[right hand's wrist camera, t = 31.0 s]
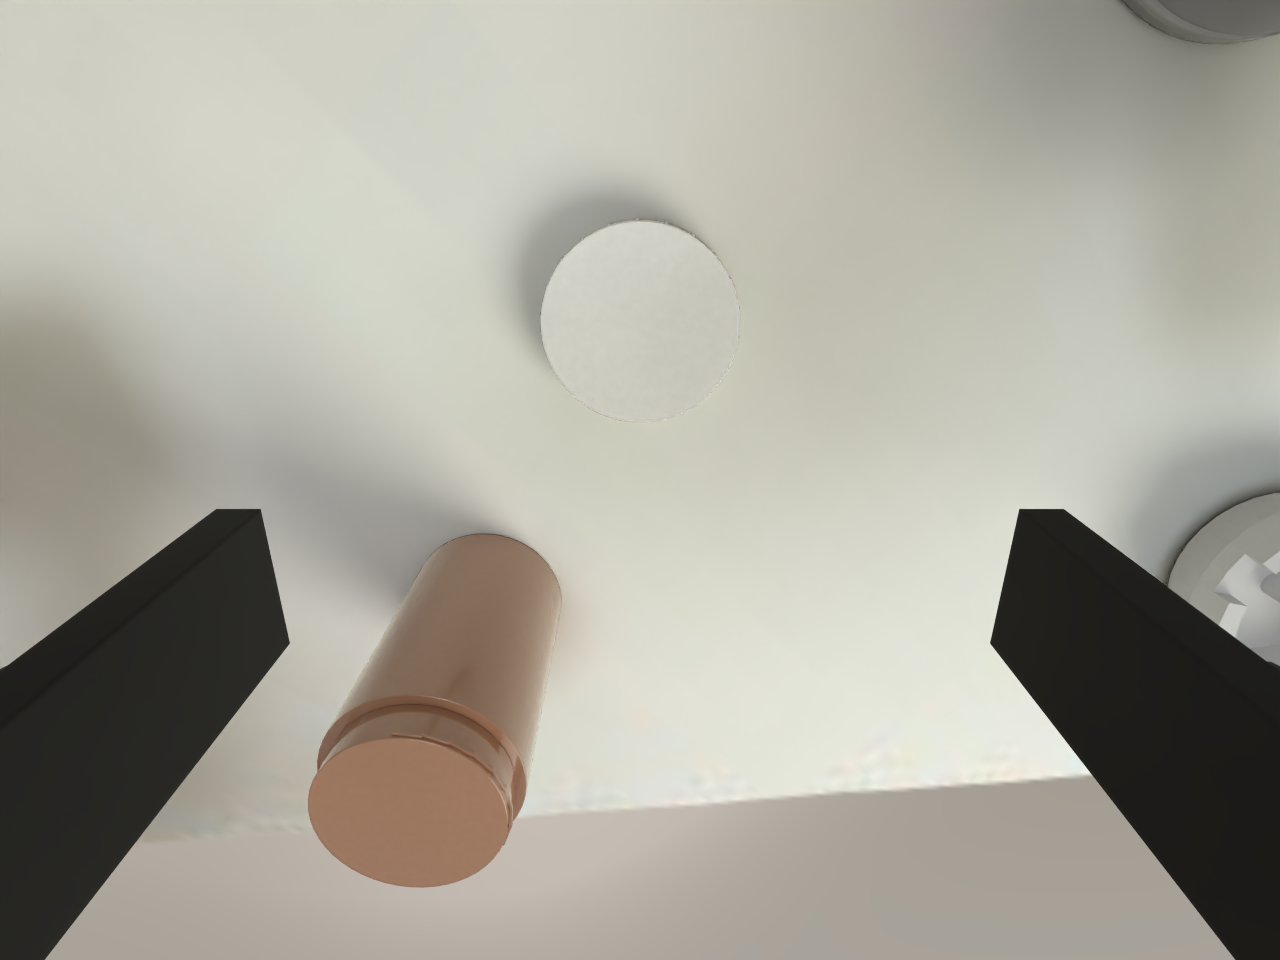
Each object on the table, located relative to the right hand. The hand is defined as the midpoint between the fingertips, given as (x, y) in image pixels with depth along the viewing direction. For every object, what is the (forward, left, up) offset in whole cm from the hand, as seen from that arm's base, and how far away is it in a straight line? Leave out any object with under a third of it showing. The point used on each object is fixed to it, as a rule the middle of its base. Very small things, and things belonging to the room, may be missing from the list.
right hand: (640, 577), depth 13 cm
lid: (0, 0, -25) cm, 25 cm away
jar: (+3, +19, -27) cm, 33 cm away
